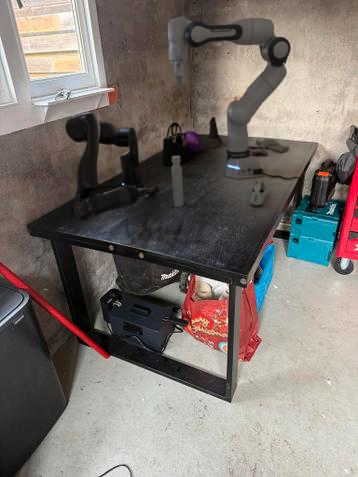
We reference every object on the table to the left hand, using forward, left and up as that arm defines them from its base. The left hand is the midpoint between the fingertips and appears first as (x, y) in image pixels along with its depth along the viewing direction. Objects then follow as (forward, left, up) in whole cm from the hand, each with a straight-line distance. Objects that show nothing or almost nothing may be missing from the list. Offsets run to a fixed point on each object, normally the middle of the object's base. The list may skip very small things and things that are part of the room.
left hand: (150, 187), depth 137 cm
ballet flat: (+27, +46, -15) cm, 56 cm away
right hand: (-23, +52, +33) cm, 65 cm away
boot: (-45, +121, -15) cm, 130 cm away
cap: (-1, +19, +8) cm, 21 cm away
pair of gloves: (-8, +122, -15) cm, 123 cm away
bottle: (-1, +19, -15) cm, 24 cm away
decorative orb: (-49, +93, -15) cm, 106 cm away
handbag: (-44, +72, -15) cm, 86 cm away
